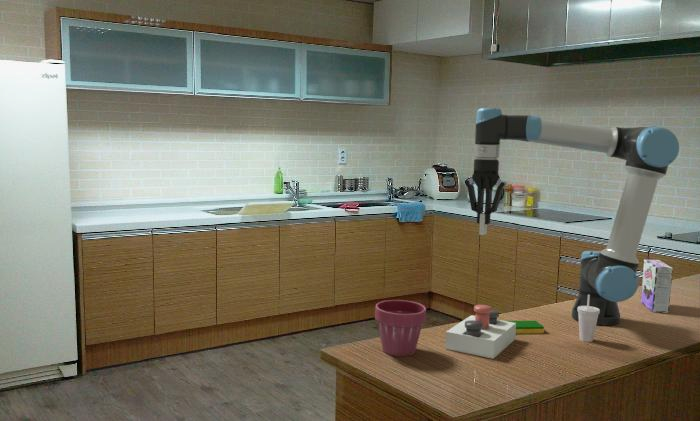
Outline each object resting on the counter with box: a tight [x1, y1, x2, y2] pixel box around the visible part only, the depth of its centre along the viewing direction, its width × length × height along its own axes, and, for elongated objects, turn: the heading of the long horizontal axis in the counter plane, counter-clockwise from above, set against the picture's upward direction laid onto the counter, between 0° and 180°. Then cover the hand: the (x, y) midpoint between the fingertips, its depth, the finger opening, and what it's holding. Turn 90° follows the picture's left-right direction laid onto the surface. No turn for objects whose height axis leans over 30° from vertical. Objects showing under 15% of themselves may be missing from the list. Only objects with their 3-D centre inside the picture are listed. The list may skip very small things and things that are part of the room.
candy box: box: [640, 258, 674, 313], centre depth 231 cm, size 14×6×16 cm, turn 172°
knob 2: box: [489, 309, 500, 325], centre depth 192 cm, size 5×5×6 cm
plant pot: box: [374, 299, 427, 357], centre depth 179 cm, size 14×14×13 cm
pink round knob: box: [473, 304, 493, 329], centre depth 186 cm, size 5×5×6 cm
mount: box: [444, 314, 517, 360], centre depth 187 cm, size 14×20×5 cm
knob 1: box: [465, 320, 483, 337], centre depth 181 cm, size 5×5×6 cm
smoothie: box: [577, 294, 600, 343], centre depth 192 cm, size 6×6×14 cm
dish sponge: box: [506, 320, 545, 334], centre depth 202 cm, size 7×14×2 cm, turn 96°
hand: (482, 234), depth 202 cm, fingers closed
